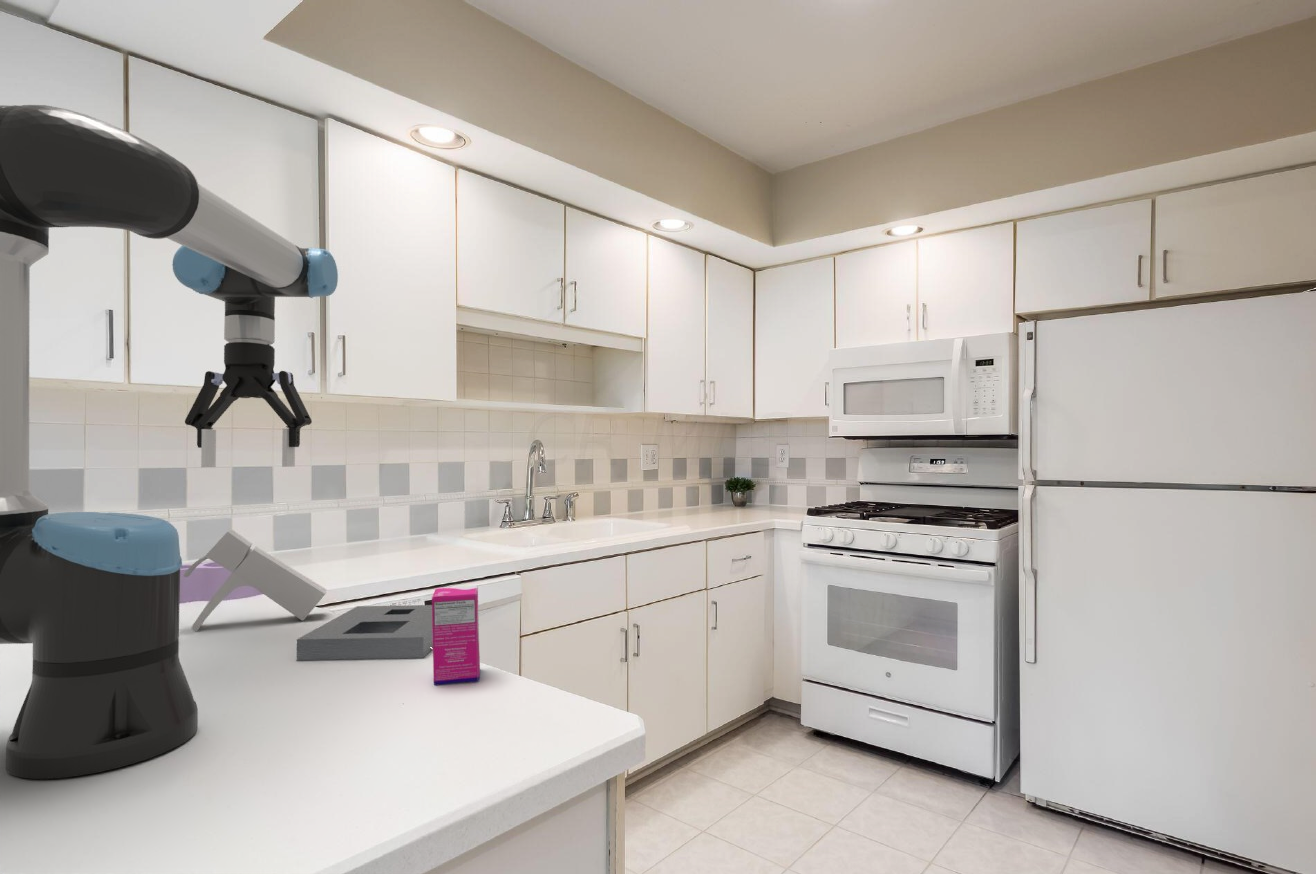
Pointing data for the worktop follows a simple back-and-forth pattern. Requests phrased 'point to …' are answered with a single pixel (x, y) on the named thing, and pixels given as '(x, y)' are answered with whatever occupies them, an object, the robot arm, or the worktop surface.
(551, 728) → the worktop surface
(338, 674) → the worktop surface
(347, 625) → the socket plate
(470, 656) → the supplement box
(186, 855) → the worktop surface
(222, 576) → the clip
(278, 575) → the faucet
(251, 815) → the worktop surface
